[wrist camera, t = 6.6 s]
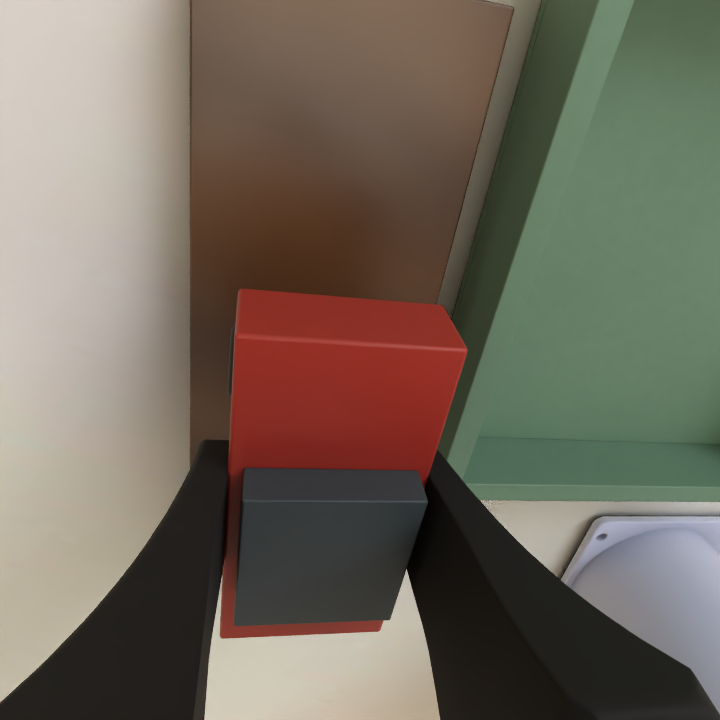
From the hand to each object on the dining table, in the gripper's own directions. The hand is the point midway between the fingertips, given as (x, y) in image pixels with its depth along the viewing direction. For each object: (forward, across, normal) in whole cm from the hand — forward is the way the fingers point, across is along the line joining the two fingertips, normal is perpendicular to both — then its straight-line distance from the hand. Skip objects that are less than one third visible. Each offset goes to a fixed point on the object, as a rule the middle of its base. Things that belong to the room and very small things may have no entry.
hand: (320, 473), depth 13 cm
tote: (+6, -12, -4) cm, 14 cm away
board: (+6, 0, 0) cm, 6 cm away
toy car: (+1, 0, 0) cm, 1 cm away
